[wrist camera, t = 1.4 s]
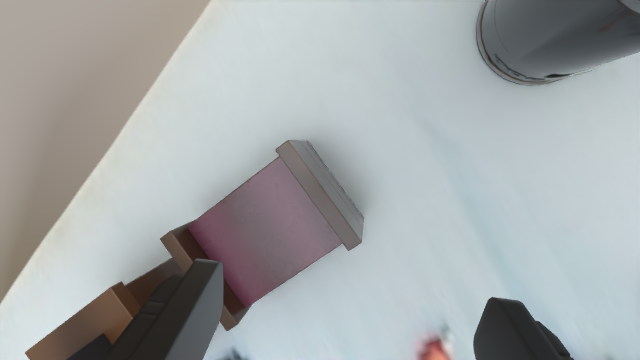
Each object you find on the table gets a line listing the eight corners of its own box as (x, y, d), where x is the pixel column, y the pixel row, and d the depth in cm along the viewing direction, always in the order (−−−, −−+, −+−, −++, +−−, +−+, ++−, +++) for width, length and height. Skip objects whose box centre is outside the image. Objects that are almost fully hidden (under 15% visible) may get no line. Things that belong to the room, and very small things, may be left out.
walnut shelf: (184, 245, 34) (109, 287, 24) (230, 308, 34) (174, 375, 24) (118, 295, 36) (24, 352, 26) (161, 355, 36) (83, 434, 26)
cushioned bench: (307, 140, 31) (287, 139, 24) (364, 218, 31) (362, 242, 24) (205, 217, 34) (159, 239, 26) (258, 290, 34) (226, 331, 26)
